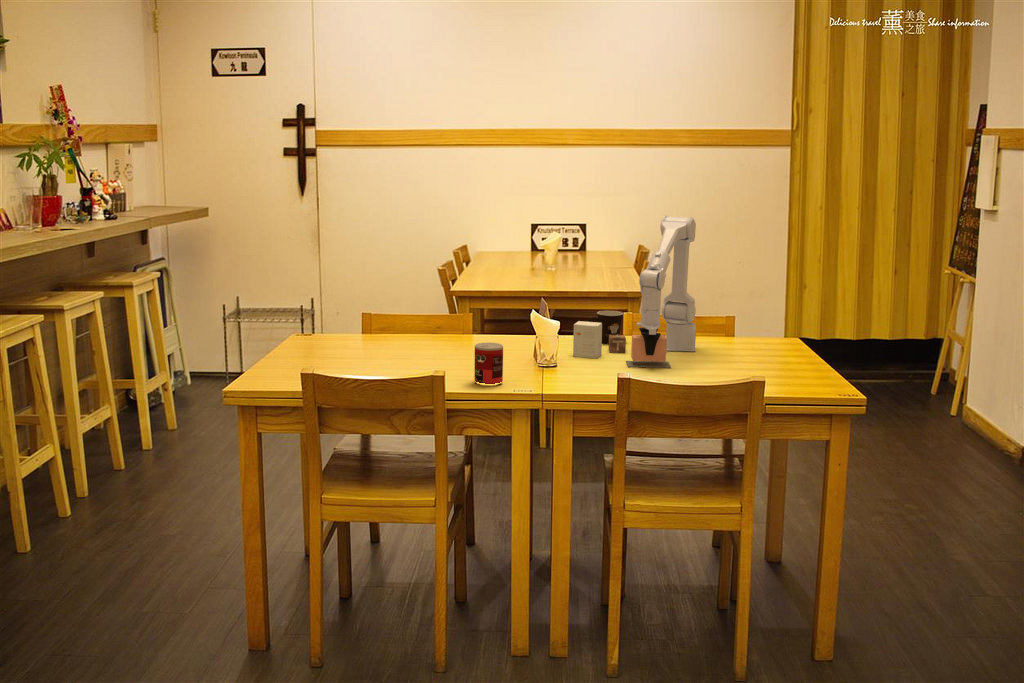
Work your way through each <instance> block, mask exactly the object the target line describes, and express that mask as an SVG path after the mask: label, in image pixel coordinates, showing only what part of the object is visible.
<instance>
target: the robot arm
mask: <svg viewBox="0 0 1024 683" xmlns="http://www.w3.org/2000/svg"><path fill="white" fill-rule="evenodd" d="M696 224H697V223H696V221H695V219H694V218H693V217H692V216H691V217H685V216H670V215H664V216H663V217H662V218H661V221H660V225H659V226H660V233H661V239H660V243H659V246H658V249H657V250H656V251H654V252H652V255H651V257H650V259H649V262H648V264H647V266H646V269H643V270H642V271H641V272H640V275H639V280H638V281H639V282H638V283H639V287H640V290H639V292H640V294H641V306H640V307H641V309H640V310H641V311H640V322H636V326H637V327H639V328H638V330H639V331H640V335H643V338H644V342H645V350H646V355H654V351H655V347H656V344H657V341H658V339H659V337H660V335H661V333H660V332H658V330H659V328H660V327H661V323H660V322H661V316H662V318H663V320H664V322H665V323H666V332H665V337H666V338H667V348H666V352H696V339H697V338H696V337H697V335H696V334H697V327H696V322H693V321H694V319H695V317H696V305H695V304H696V300H695V298H694V297H693V296H692V295H690V294H689V293H688V292H687V290H688V275H689V274H688V273H689V257H690V244H691V243H693V242H695V239H696ZM672 250H673V261H672V277H671V292H670V293H668V294H667V295H666V296H664V298H663V304H662V305H661V302H662V300H661V299H662V298H661V297H662V289H663V288H664V286H665V282H666V281H665V280H666V277H667V274H666V272H667V269H668V267H669V264H670V262H671V256H670V254H671V252H672ZM661 306H662V307H661Z"/></svg>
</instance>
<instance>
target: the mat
mask: <svg viewBox="0 0 1024 683" xmlns="http://www.w3.org/2000/svg"><path fill="white" fill-rule="evenodd" d="M626 363H627V364H626ZM625 364H626V366H627V368H629V367H649V368H648V369H672V366H671V365H670V362H669V361H667V360H666V361H633V360H625Z"/></svg>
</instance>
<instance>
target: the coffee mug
mask: <svg viewBox="0 0 1024 683" xmlns="http://www.w3.org/2000/svg"><path fill="white" fill-rule="evenodd" d="M596 316H597V317H591V318H589V319H588V320H587V322H592V320H593V321H594V320H595V321H596V322H597V323H602V345H608V346H609V335H621V329H622V324H623V323H622V322H623V317H624V313H623V312H622V311H617V310H599V311H597V312H596Z"/></svg>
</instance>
